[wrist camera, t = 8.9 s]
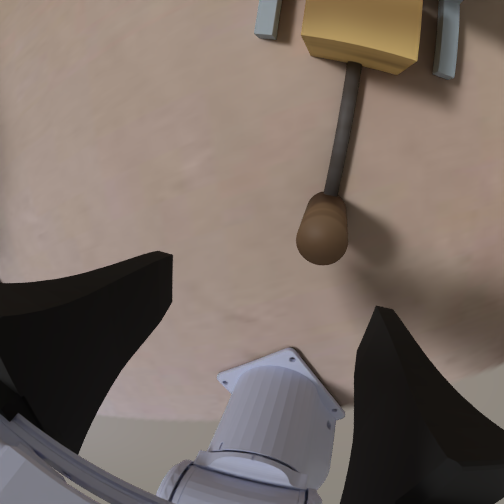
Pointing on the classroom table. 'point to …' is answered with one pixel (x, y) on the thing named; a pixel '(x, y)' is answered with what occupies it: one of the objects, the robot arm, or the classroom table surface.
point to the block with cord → (351, 94)
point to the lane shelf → (444, 41)
